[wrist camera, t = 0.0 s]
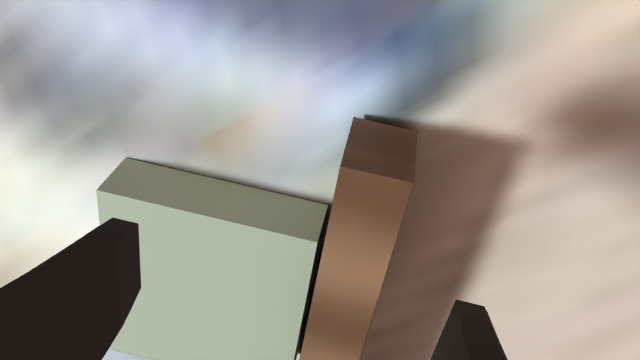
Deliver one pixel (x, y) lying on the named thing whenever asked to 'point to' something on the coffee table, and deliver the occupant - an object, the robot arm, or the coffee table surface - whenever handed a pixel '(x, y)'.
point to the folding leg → (359, 238)
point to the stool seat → (213, 265)
